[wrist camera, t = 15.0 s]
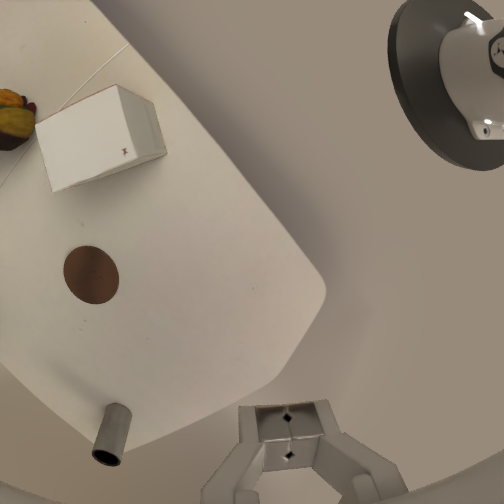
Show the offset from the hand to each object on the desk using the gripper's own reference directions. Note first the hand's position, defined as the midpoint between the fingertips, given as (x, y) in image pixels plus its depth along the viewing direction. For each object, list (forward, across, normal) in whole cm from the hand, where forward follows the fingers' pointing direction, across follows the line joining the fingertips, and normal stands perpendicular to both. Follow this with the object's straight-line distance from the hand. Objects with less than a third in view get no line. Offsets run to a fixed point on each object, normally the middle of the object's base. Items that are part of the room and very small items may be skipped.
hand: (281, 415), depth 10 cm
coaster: (+29, +19, +7) cm, 35 cm away
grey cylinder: (+29, +20, +32) cm, 48 cm away
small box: (+29, +13, -9) cm, 33 cm away
